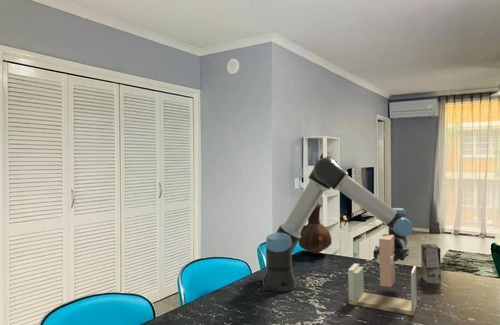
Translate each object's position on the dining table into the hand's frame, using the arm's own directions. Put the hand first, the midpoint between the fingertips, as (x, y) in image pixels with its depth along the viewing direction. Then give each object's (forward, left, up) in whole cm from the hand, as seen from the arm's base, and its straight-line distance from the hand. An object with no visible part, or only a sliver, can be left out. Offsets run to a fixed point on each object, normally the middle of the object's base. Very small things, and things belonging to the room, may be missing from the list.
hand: (384, 260), depth 138 cm
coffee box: (+13, +45, -19) cm, 51 cm away
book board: (-2, +5, -19) cm, 20 cm away
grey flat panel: (+10, +5, -17) cm, 21 cm away
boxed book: (0, +5, -10) cm, 11 cm away
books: (-12, +5, -17) cm, 22 cm away
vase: (-52, +67, -19) cm, 87 cm away
